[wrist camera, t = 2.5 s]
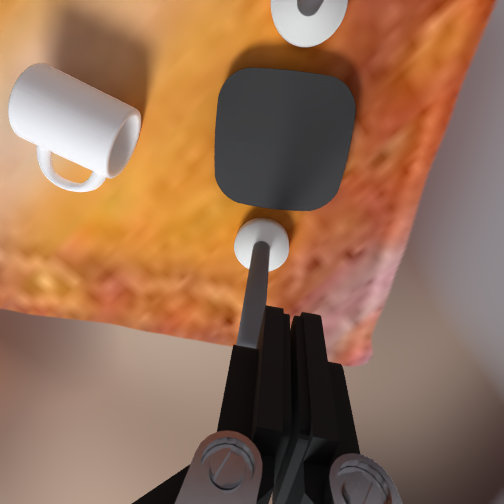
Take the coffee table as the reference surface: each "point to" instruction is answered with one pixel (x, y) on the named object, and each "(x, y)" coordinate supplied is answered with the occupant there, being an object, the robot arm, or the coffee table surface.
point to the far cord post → (258, 270)
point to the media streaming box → (282, 138)
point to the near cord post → (307, 20)
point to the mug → (73, 124)
